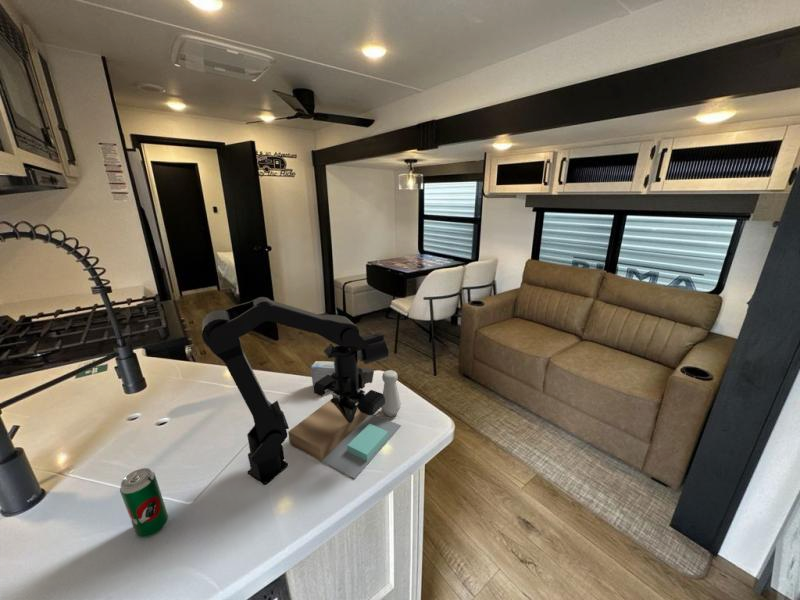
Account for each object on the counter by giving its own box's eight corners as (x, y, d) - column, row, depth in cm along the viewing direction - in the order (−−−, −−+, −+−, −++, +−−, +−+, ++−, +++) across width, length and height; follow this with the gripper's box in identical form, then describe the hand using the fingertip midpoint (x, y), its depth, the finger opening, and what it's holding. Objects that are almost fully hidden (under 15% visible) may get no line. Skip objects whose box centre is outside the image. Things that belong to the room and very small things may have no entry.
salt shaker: (403, 415, 91) (403, 375, 87) (385, 420, 89) (383, 380, 85) (396, 404, 96) (395, 365, 92) (378, 408, 94) (376, 370, 90)
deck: (321, 461, 76) (320, 448, 74) (290, 444, 81) (288, 431, 80) (371, 414, 92) (370, 402, 91) (342, 402, 97) (341, 391, 96)
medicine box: (340, 384, 107) (338, 361, 105) (336, 391, 103) (334, 368, 100) (317, 383, 108) (315, 360, 105) (313, 390, 104) (310, 367, 101)
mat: (354, 479, 71) (354, 478, 71) (321, 461, 76) (321, 460, 76) (400, 426, 87) (400, 425, 87) (371, 414, 92) (371, 413, 92)
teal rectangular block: (347, 445, 77) (347, 451, 78) (366, 454, 74) (367, 461, 75) (369, 423, 85) (369, 429, 85) (388, 431, 82) (388, 438, 82)
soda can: (174, 513, 64) (160, 465, 60) (157, 538, 59) (140, 489, 55) (149, 514, 64) (132, 466, 60) (129, 540, 59) (110, 490, 55)
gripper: (396, 363, 79) (397, 415, 84) (339, 346, 88) (343, 395, 93) (370, 384, 70) (372, 442, 75) (309, 364, 79) (315, 416, 84)
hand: (350, 421), depth 82 cm, fingers closed
